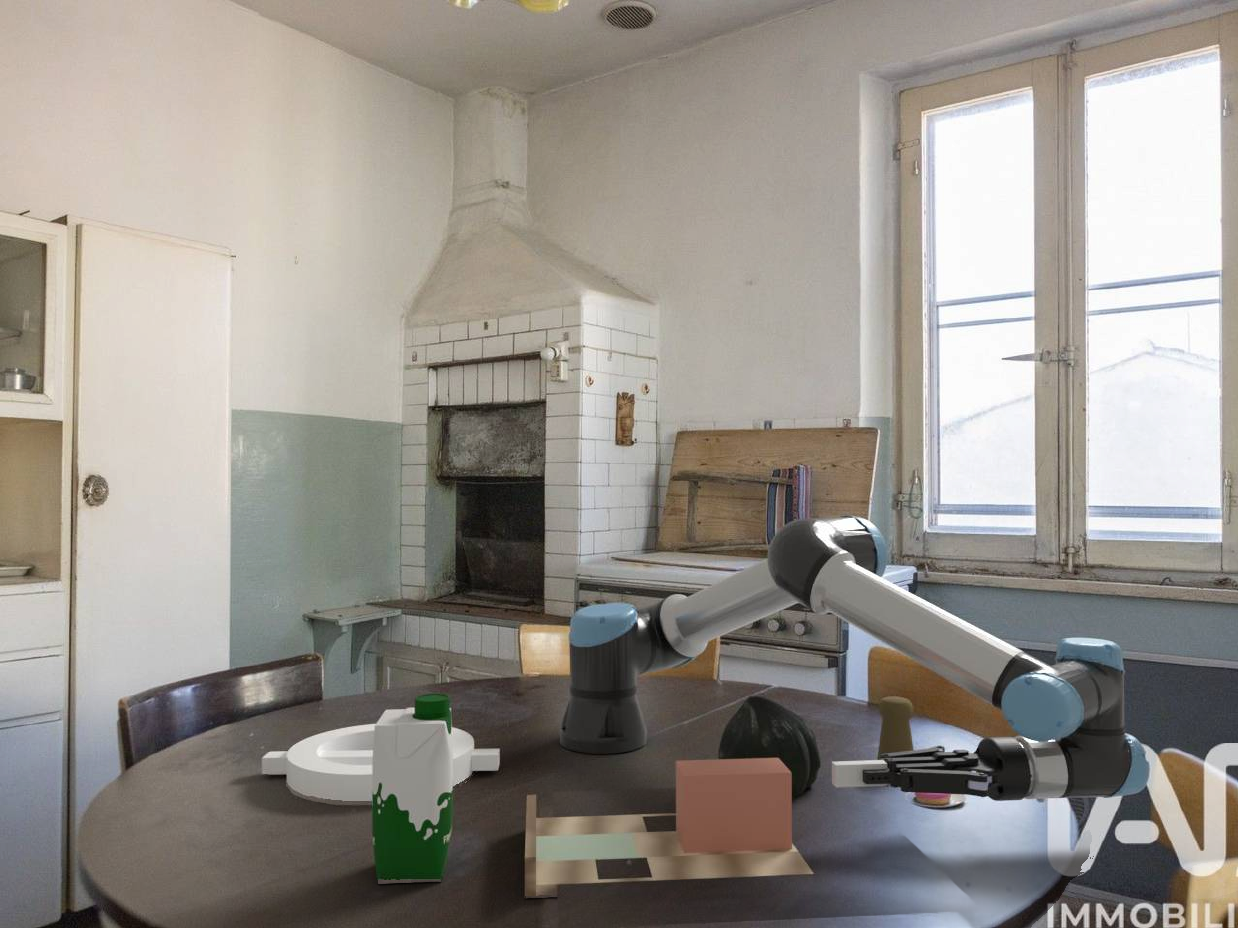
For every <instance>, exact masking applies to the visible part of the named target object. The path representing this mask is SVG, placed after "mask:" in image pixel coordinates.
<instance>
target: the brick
mask: <svg viewBox="0 0 1238 928" xmlns="http://www.w3.org/2000/svg"><path fill="white" fill-rule="evenodd" d="M792 799H793V795H792V773H791V771H790V770H789V769H788V768H787V767H786V766H785V765H784V764H783V762H782V761H781V760H780V759H779V758H751V759H717V758H716V759H693V760H692V759H688V760H687V759H686V760H675V813H676V816H675V831H676V835H677V837H678V840H679V842H680V845H681V847H682V850H683V853H700V852H726V851H752V850H778V849H792V843H793V802H792V801H793V800H792Z"/></svg>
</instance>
